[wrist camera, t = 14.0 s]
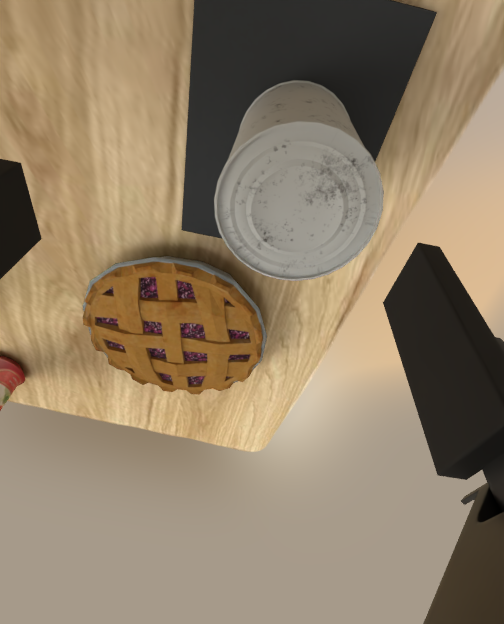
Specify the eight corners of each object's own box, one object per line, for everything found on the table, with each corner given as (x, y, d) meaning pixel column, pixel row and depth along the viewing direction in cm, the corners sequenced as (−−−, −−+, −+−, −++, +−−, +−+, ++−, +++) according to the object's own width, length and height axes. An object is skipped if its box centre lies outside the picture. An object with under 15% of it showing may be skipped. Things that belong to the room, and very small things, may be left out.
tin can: (346, 200, 32) (370, 279, 22) (243, 204, 33) (225, 282, 23) (359, 74, 25) (400, 113, 16) (231, 85, 26) (200, 127, 17)
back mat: (198, -50, 22) (197, -51, 22) (434, 12, 23) (437, 12, 23) (182, 227, 35) (181, 230, 35) (333, 258, 36) (333, 261, 36)
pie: (125, 370, 52) (112, 398, 48) (65, 242, 38) (41, 268, 34) (269, 374, 50) (268, 403, 46) (265, 240, 36) (263, 268, 32)
